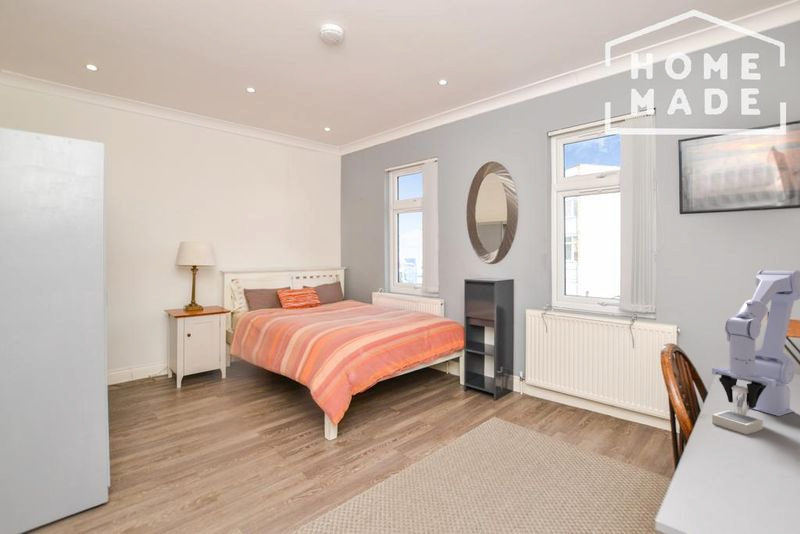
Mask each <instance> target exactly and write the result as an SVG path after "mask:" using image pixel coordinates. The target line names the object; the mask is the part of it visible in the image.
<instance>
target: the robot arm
mask: <svg viewBox="0 0 800 534" xmlns="http://www.w3.org/2000/svg"><path fill="white" fill-rule="evenodd" d="M755 284H756V288H755V290H754V292H753V295H752V297H751V299H748V300H745V301H744V303H742V305H741V307H740V309H739V310H738V311H737V313H736V314H735V315H734V316H733V317H730V318H728V319H727V320H726V321H725V326H724V330H725V331H724V332H725V334H726V340H727V342H729V345H728V346H729V348H728V349H729V360H728V361H729V365H728V366H729V368H722V367H721V368H720V367H711V374H712V375H715V376H717V375H718V376H720V377H719V378H718V381H719V382H720V383H721V385H722V388H723V389H724V391H725V393H726V397H727V400H728V403H730V404H732V390H731V388H732V386H734V385H737V382H738V380H739V381H745V382H748V383H746V387H747V388H748V393H749V409H752V410H755V411H759V412H763V413H767V414H770V415H774V416H777V417H780V416H781V417H782V416H784V415H786V414H790V413H793V412H795V409H793V408H791V389H790V387H789V386H788V385H789V384H790V383H792V382H793V379H794V376H795V371H794V370H795V369H794V367H795V366H794V365H795V362H794V361H793V360H794V359H793V360H792V358H791V357H789V355H787V354H785V352H784V349H785V346H786V345H785V344H786V339H787V334H788V330H789V325H790V320H791V316H792V311H793V306H794V302H795V301H797V300H800V270H798V269H796V270H778V269H777V270H775V269H774V270H765V269H760V270H758V272H757V273H756V275H755ZM770 302H771V303H770ZM768 303H770V307H769V309H768V306H767V304H768ZM767 313H768V317H767V321H766V325H765V331H764V335H763V339H762V345H761V347H760V348H758V349H756V339H757V338H759V337H760V334H761V328H762V325H763V324H762V321H763V320H764V318H765V316H766V315H767Z"/></svg>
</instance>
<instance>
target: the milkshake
mask: <svg viewBox="0 0 800 534" xmlns="http://www.w3.org/2000/svg"><path fill="white" fill-rule="evenodd" d="M731 390H732V403H731V407H732V409H731V410H732V411H733V412H736V413H740V414H743V415H746V416H749V411H750V408H749V393H748V388H747V386H744V385H740V384H738V385H737V384H736V385H734V386H732V388H731Z"/></svg>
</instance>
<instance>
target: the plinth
mask: <svg viewBox="0 0 800 534" xmlns="http://www.w3.org/2000/svg"><path fill="white" fill-rule="evenodd" d="M711 416H712V417H711V423H712V424H714V425H716V426H719V427H722V428H726V429H729V430H732V431H733V432H734V431H735V432H738V433H742V434H744V435H750V434H753V433H755V432H759V431H761V430H763V427H764V425H763V419H760V418H757V417H753V416H749V415H748V416H746V415H743V414H740V413H736V412H733V411H731V410H729V409H727V410H724V411H719V412H716V413H713V414H712V415H711Z"/></svg>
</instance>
